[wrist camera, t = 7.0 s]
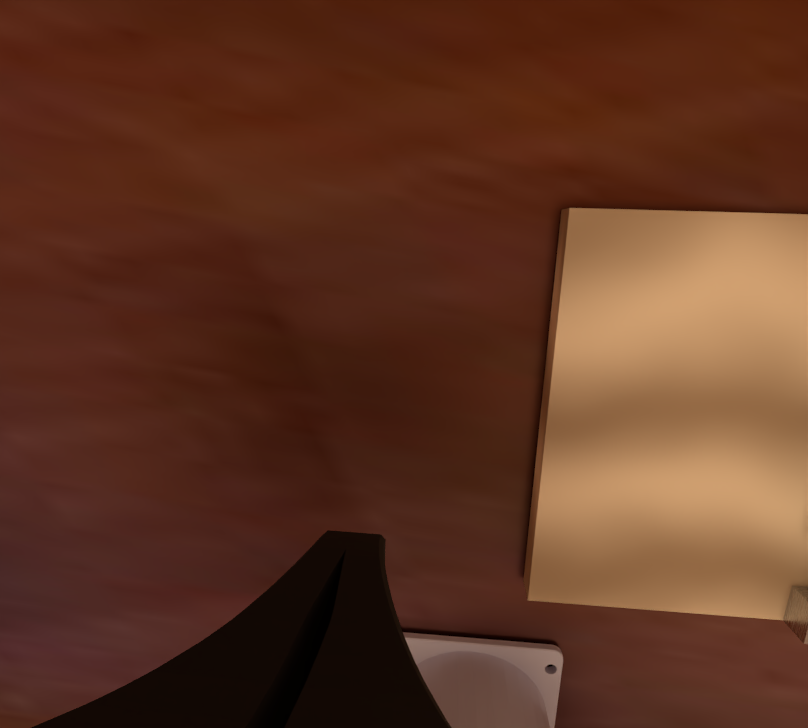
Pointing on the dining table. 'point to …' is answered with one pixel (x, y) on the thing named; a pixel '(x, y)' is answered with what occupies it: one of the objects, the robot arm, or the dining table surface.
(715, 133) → the dining table surface
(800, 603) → the tongs fixed
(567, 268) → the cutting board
